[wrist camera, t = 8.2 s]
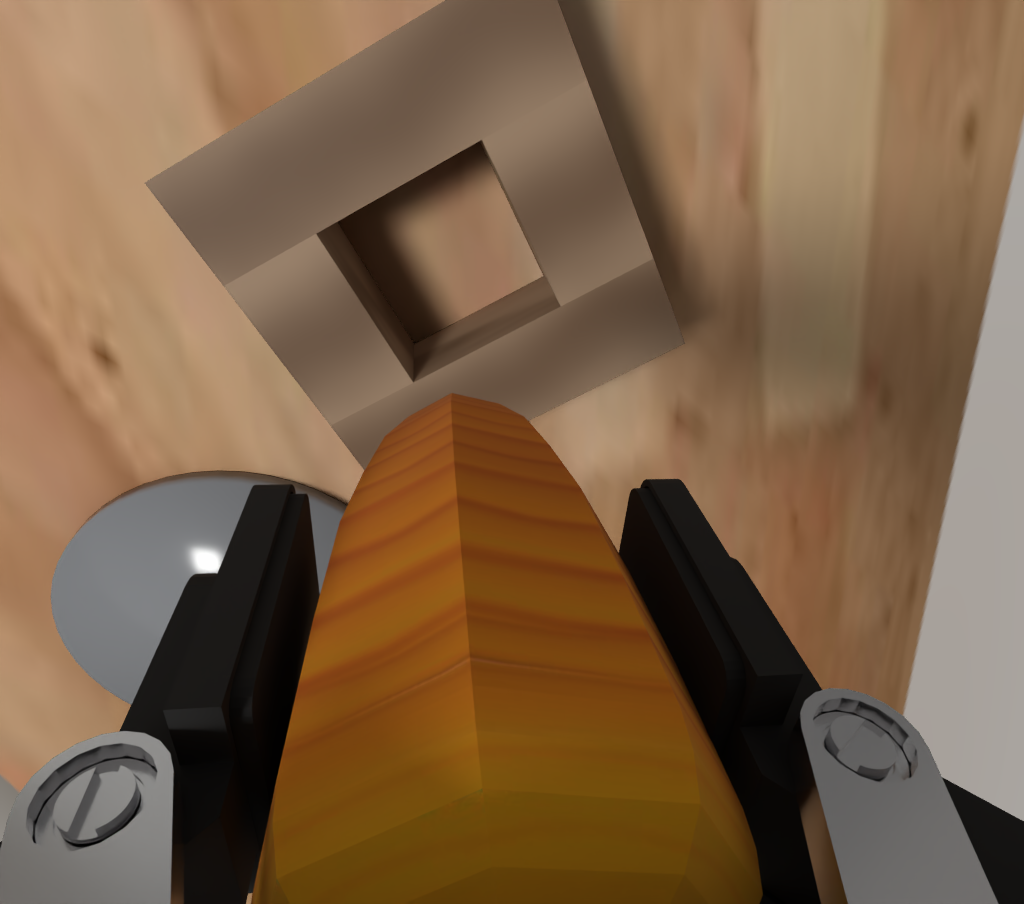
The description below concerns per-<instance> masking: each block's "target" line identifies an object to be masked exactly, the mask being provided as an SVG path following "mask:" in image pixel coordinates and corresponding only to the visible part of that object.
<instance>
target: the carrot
mask: <svg viewBox="0 0 1024 904" xmlns="http://www.w3.org/2000/svg"><path fill="white" fill-rule="evenodd" d="M762 895H763V892H762V885H761V878H760V871H759V864H758V857H757V850H756V846H755V843H754V840H753V837H752V834H751V831H750V828H749V825H748V822H747V819H746V816H745V813H744V810H743V807H742V805H741V803H740V801H739V799H738V797H737V794H736V792H735V790H734V788H733V786H732V784H731V782H730V779H729V777H728V775H727V773H726V771H725V769H724V766H723V764H722V762H721V760H720V758H719V756H718V754H717V751H716V749H715V747H714V745H713V743H712V741H711V739H710V737H709V735H708V733H707V731H706V728H705V726H704V724H703V722H702V720H701V718H700V715H699V713H698V711H697V709H696V707H695V704H694V702H693V700H692V698H691V696H690V694H689V691H688V689H687V687H686V685H685V683H684V680H683V678H682V676H681V674H680V672H679V670H678V667H677V665H676V663H675V661H674V659H673V657H672V655H671V653H670V651H669V649H668V648H667V646H666V644H665V642H664V640H663V638H662V636H661V634H660V632H659V630H658V628H657V626H656V624H655V622H654V620H653V618H652V616H651V614H650V612H649V610H648V608H647V606H646V604H645V602H644V600H643V598H642V596H641V594H640V592H639V590H638V588H637V586H636V584H635V582H634V580H633V578H632V576H631V574H630V572H629V570H628V569H627V567H626V565H625V563H624V562H623V560H622V558H621V557H620V555H619V553H618V551H617V550H616V548H615V546H614V545H613V543H612V541H611V539H610V538H609V536H608V534H607V533H606V531H605V529H604V527H603V526H602V524H601V522H600V521H599V519H598V517H597V515H596V514H595V512H594V510H593V509H592V507H591V505H590V503H589V502H588V500H587V498H586V497H585V495H584V493H583V491H582V490H581V488H580V486H579V485H578V484H577V482H576V481H575V479H574V478H573V477H572V475H571V474H570V473H569V471H568V470H567V469H566V467H565V466H564V464H563V463H562V462H561V460H560V459H559V458H558V456H557V455H556V454H555V452H554V451H553V449H552V448H551V447H550V445H549V444H548V443H547V442H546V441H545V440H544V439H543V437H542V436H541V435H540V434H539V433H538V432H537V431H536V429H535V428H534V427H533V426H532V425H531V424H530V423H529V421H528V420H527V419H526V418H525V417H524V416H522V415H520V414H518V413H516V412H514V411H512V410H511V409H509V408H507V407H505V406H503V405H501V404H499V403H494V402H490V401H485V400H481V399H476V398H472V397H467V396H463V395H459V394H454V393H451V394H449V395H447V396H445V397H443V398H441V399H440V400H438V401H436V402H434V403H432V404H430V405H429V406H427V407H425V408H423V409H421V410H419V411H418V412H416V413H414V414H412V415H410V416H409V417H407V418H406V419H405V420H404V421H403V422H401V423H400V424H399V425H398V426H397V427H395V428H394V429H393V430H392V431H391V432H389V433H388V434H387V435H386V436H385V437H384V438H383V440H382V442H381V444H380V445H379V447H378V449H377V450H376V452H375V454H374V455H373V457H372V459H371V461H370V462H369V464H368V466H367V467H366V469H365V471H364V472H363V475H362V477H361V479H360V481H359V483H358V485H357V487H356V489H355V491H354V493H353V495H352V497H351V500H350V502H349V504H348V506H347V508H346V510H345V512H344V514H343V516H342V518H341V520H340V523H339V527H338V530H337V534H336V538H335V541H334V545H333V549H332V552H331V556H330V560H329V563H328V567H327V571H326V574H325V578H324V582H323V585H322V589H321V593H320V596H319V600H318V604H317V608H316V611H315V615H314V619H313V623H312V627H311V632H310V636H309V640H308V645H307V649H306V653H305V658H304V662H303V666H302V671H301V675H300V680H299V684H298V688H297V693H296V697H295V701H294V706H293V710H292V714H291V719H290V723H289V727H288V732H287V736H286V741H285V745H284V749H283V754H282V758H281V762H280V767H279V771H278V775H277V780H276V785H275V790H274V794H273V799H272V804H271V809H270V813H269V818H268V823H267V828H266V832H265V837H264V842H263V846H262V851H261V856H260V861H259V865H258V870H257V875H256V880H255V884H254V889H253V894H252V901H251V904H759V903H760V901H761V898H762Z"/></svg>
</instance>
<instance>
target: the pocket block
mask: <svg viewBox="0 0 1024 904" xmlns="http://www.w3.org/2000/svg"><path fill="white" fill-rule="evenodd" d="M479 141H480V143H481V145H482V147H483V149H484V151H485V153H486V155H487V157H488V160H489V162H490V164H491V166H492V168H493V170H494V172H495V174H496V176H497V179H498V181H499V183H500V185H501V187H502V189H503V191H504V193H505V195H506V198H507V200H508V202H509V204H510V206H511V208H512V210H513V212H514V214H515V216H516V219H517V221H518V223H519V225H520V227H521V229H522V231H523V233H524V235H525V238H526V240H527V242H528V244H529V246H530V248H531V250H532V252H533V254H534V256H535V259H536V261H537V263H538V265H539V267H540V269H541V271H542V273H543V275H544V276H543V277H541V278H539V279H537V280H536V281H534V282H532V283H530V284H528V285H526V286H524V287H522V288H520V289H518V290H517V291H515V292H513V293H511V294H509V295H507V296H505V297H503V298H501V299H499V300H498V301H496V302H494V303H492V304H490V305H488V306H486V307H484V308H482V309H480V310H479V311H477V312H475V313H473V314H471V315H469V316H467V317H465V318H463V319H461V320H460V321H458V322H456V323H454V324H452V325H450V326H448V327H446V328H444V329H443V330H441V331H439V332H437V333H435V334H433V335H431V336H429V337H427V338H425V339H424V340H422V341H420V342H418V343H416V344H414V343H413V342H412V340H411V339H410V337H409V335H408V334H407V332H406V331H405V329H404V327H403V326H402V324H401V323H400V321H399V319H398V318H397V316H396V315H395V313H394V312H393V310H392V308H391V307H390V305H389V304H388V302H387V300H386V299H385V297H384V296H383V294H382V292H381V291H380V289H379V288H378V286H377V284H376V283H375V281H374V280H373V278H372V276H371V275H370V273H369V272H368V270H367V269H366V267H365V265H364V264H363V262H362V261H361V259H360V257H359V256H358V254H357V253H356V251H355V249H354V248H353V246H352V245H351V243H350V241H349V240H348V238H347V237H346V235H345V233H344V232H343V230H342V229H341V227H340V226H339V224H338V221H339V220H341V219H343V218H345V217H346V216H348V215H350V214H352V213H353V212H355V211H357V210H359V209H360V208H362V207H364V206H366V205H368V204H369V203H371V202H373V201H375V200H376V199H378V198H380V197H382V196H383V195H385V194H387V193H389V192H390V191H392V190H394V189H396V188H397V187H399V186H401V185H403V184H405V183H406V182H408V181H410V180H412V179H413V178H415V177H417V176H419V175H420V174H422V173H424V172H426V171H427V170H429V169H431V168H433V167H435V166H436V165H438V164H440V163H442V162H443V161H445V160H447V159H449V158H450V157H452V156H454V155H456V154H457V153H459V152H461V151H463V150H464V149H466V148H468V147H470V146H472V145H473V144H475V143H477V142H479ZM145 184H146V185H147V187H148V188H149V189H150V191H151V192H152V193H153V195H154V196H155V197H156V198H157V200H158V201H159V202H160V204H161V205H162V206H163V208H164V209H165V210H166V212H167V213H168V214H169V215H170V217H171V218H172V219H173V221H174V222H175V223H176V225H177V226H178V227H179V229H180V230H181V231H182V232H183V234H184V235H185V236H186V238H187V239H188V240H189V242H190V243H191V244H192V245H193V247H194V248H195V249H196V251H197V252H198V253H199V255H200V256H201V257H202V259H203V260H204V261H205V262H206V264H207V265H208V266H209V268H210V269H211V270H212V272H213V273H214V274H215V276H216V277H217V278H218V279H219V281H220V282H221V283H222V285H223V286H224V287H225V289H226V290H227V291H228V293H229V294H230V295H231V296H232V298H233V299H234V300H235V302H236V303H237V304H238V306H239V307H240V308H241V309H242V311H243V312H244V313H245V315H246V316H247V317H248V319H249V320H250V321H251V323H252V324H253V325H254V326H255V328H256V329H257V330H258V332H259V333H260V334H261V336H262V337H263V338H264V340H265V341H266V342H267V343H268V345H269V346H270V347H271V349H272V350H273V351H274V353H275V354H276V355H277V357H278V358H279V359H280V360H281V362H282V363H283V364H284V366H285V367H286V368H287V370H288V371H289V372H290V373H291V375H292V376H293V377H294V379H295V380H296V381H297V383H298V384H299V385H300V387H301V388H302V389H303V390H304V392H305V393H306V394H307V396H308V397H309V398H310V400H311V401H312V402H313V404H314V405H315V406H316V407H317V409H318V410H319V411H320V413H321V414H322V415H323V417H324V418H325V419H326V420H327V422H328V423H329V424H330V426H331V427H332V428H333V430H334V431H335V432H336V434H337V435H338V436H339V437H340V439H341V440H342V441H343V443H344V444H345V445H346V447H347V448H348V449H349V451H350V452H351V453H352V454H353V456H354V457H355V458H356V460H357V461H358V462H359V464H360V465H361V466H362V468H363V469H364V470H365V469H366V467H367V466H368V464H369V462H370V461H371V459H372V457H373V455H374V454H375V452H376V450H377V449H378V447H379V445H380V444H381V442H382V440H383V438H384V437H385V436H386V435H387V434H388V433H389V432H391V431H392V430H393V429H394V428H395V427H397V426H398V425H399V424H400V423H401V422H403V421H404V420H405V419H406V418H407V417H409V416H410V415H412V414H414V413H416V412H418V411H419V410H421V409H423V408H425V407H427V406H429V405H430V404H432V403H434V402H436V401H438V400H440V399H441V398H443V397H445V396H447V395H449V394H451V393H454V394H459V395H463V396H467V397H472V398H476V399H481V400H485V401H490V402H494V403H499V404H501V405H503V406H505V407H507V408H509V409H511V410H512V411H514V412H516V413H518V414H520V415H522V416H524V417H525V418H526V419H527V420H528V421H529V420H531V419H533V418H535V417H537V416H539V415H541V414H543V413H545V412H547V411H549V410H551V409H553V408H555V407H557V406H559V405H561V404H563V403H565V402H567V401H569V400H571V399H573V398H576V397H578V396H580V395H582V394H584V393H586V392H588V391H590V390H592V389H594V388H596V387H598V386H600V385H602V384H604V383H606V382H608V381H610V380H612V379H614V378H616V377H618V376H620V375H622V374H624V373H626V372H628V371H630V370H632V369H634V368H636V367H638V366H640V365H642V364H644V363H646V362H648V361H650V360H652V359H654V358H656V357H659V356H661V355H663V354H665V353H667V352H669V351H671V350H673V349H675V348H677V347H679V346H681V345H683V344H685V342H684V339H683V336H682V334H681V331H680V328H679V326H678V323H677V320H676V318H675V315H674V312H673V310H672V307H671V304H670V301H669V299H668V296H667V293H666V291H665V288H664V285H663V283H662V280H661V277H660V275H659V272H658V269H657V267H656V264H655V261H654V258H653V256H652V253H651V250H650V248H649V245H648V242H647V240H646V237H645V234H644V232H643V229H642V226H641V223H640V221H639V218H638V215H637V213H636V210H635V207H634V205H633V202H632V199H631V197H630V194H629V191H628V189H627V186H626V183H625V180H624V178H623V175H622V172H621V170H620V167H619V164H618V162H617V159H616V156H615V154H614V151H613V148H612V145H611V143H610V140H609V137H608V135H607V132H606V129H605V127H604V124H603V121H602V119H601V116H600V113H599V110H598V108H597V105H596V102H595V100H594V97H593V94H592V92H591V89H590V86H589V84H588V81H587V78H586V76H585V73H584V70H583V67H582V65H581V62H580V59H579V57H578V54H577V51H576V49H575V46H574V43H573V41H572V38H571V35H570V32H569V30H568V27H567V24H566V22H565V19H564V16H563V14H562V11H561V8H560V6H559V3H558V0H445V1H444V2H442V3H440V4H439V5H437V6H435V7H434V8H432V9H430V10H429V11H427V12H425V13H424V14H422V15H420V16H419V17H417V18H415V19H414V20H412V21H411V22H409V23H407V24H406V25H404V26H402V27H401V28H399V29H397V30H396V31H394V32H392V33H391V34H389V35H387V36H386V37H384V38H382V39H381V40H379V41H378V42H376V43H374V44H373V45H371V46H369V47H368V48H366V49H364V50H363V51H361V52H359V53H358V54H356V55H354V56H353V57H351V58H349V59H348V60H346V61H345V62H343V63H341V64H340V65H338V66H336V67H335V68H333V69H331V70H330V71H328V72H326V73H325V74H323V75H321V76H320V77H318V78H316V79H315V80H313V81H312V82H310V83H308V84H307V85H305V86H303V87H302V88H300V89H298V90H297V91H295V92H293V93H292V94H290V95H288V96H287V97H285V98H283V99H282V100H280V101H279V102H277V103H275V104H274V105H272V106H270V107H269V108H267V109H265V110H264V111H262V112H260V113H259V114H257V115H255V116H254V117H252V118H250V119H249V120H247V121H246V122H244V123H242V124H241V125H239V126H237V127H236V128H234V129H232V130H231V131H229V132H227V133H226V134H224V135H222V136H221V137H219V138H218V139H216V140H214V141H213V142H211V143H209V144H208V145H206V146H204V147H203V148H201V149H199V150H198V151H196V152H194V153H193V154H191V155H189V156H188V157H186V158H185V159H183V160H181V161H180V162H178V163H176V164H175V165H173V166H171V167H170V168H168V169H166V170H165V171H163V172H161V173H160V174H158V175H156V176H155V177H153V178H152V179H150V180H148V181H147V182H145Z"/></svg>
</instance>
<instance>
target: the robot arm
mask: <svg viewBox="0 0 1024 904" xmlns="http://www.w3.org/2000/svg"><path fill="white" fill-rule="evenodd" d="M619 555H620V557H621V558H622V560H623V562H624V563H625V565H626V567H627V569H628V570H629V572H630V574H631V576H632V578H633V580H634V582H635V584H636V586H637V588H638V590H639V592H640V594H641V596H642V598H643V600H644V602H645V604H646V606H647V608H648V610H649V612H650V614H651V616H652V618H653V620H654V622H655V624H656V626H657V628H658V630H659V632H660V634H661V636H662V638H663V640H664V642H665V644H666V646H667V648H668V649H669V651H670V653H671V655H672V657H673V659H674V661H675V663H676V665H677V667H678V670H679V672H680V674H681V676H682V678H683V680H684V683H685V685H686V687H687V689H688V691H689V694H690V696H691V698H692V700H693V702H694V704H695V707H696V709H697V711H698V713H699V715H700V718H701V720H702V722H703V724H704V726H705V728H706V731H707V733H708V735H709V737H710V739H711V741H712V743H713V745H714V747H715V749H716V751H717V754H718V756H719V758H720V760H721V762H722V764H723V766H724V769H725V771H726V773H727V775H728V777H729V779H730V782H731V784H732V786H733V788H734V790H735V792H736V794H737V797H738V799H739V801H740V803H741V805H742V807H743V810H744V813H745V816H746V819H747V822H748V825H749V828H750V831H751V834H752V837H753V840H754V843H755V846H756V850H757V857H758V864H759V871H760V878H761V885H762V892H763V895H762V898H761V901H760V903H759V904H1024V821H1022V820H1020V819H1018V818H1016V817H1015V816H1012V815H1011V814H1009V813H1007V812H1005V811H1003V810H1002V809H1000V808H998V807H996V806H994V805H992V804H990V803H989V802H987V801H985V800H983V799H981V798H979V797H977V796H976V795H973V794H972V793H970V792H968V791H966V790H965V789H963V788H961V787H959V786H957V785H955V784H953V783H951V782H950V781H948V780H946V779H944V778H942V777H941V774H940V772H939V770H938V768H937V766H936V763H935V761H934V759H933V757H932V754H931V752H930V750H929V748H928V746H927V745H926V743H925V742H924V740H923V738H922V737H921V735H920V733H919V732H918V731H917V730H916V729H915V728H914V727H913V726H912V725H911V724H910V723H909V722H908V721H907V720H906V719H905V717H904V716H902V715H901V714H899V713H898V712H897V711H895V710H894V709H892V708H891V707H890V706H888V705H887V704H885V703H883V702H881V701H879V700H877V699H875V698H873V697H871V696H869V695H867V694H863V693H860V692H856V691H852V690H849V689H834V688H829V689H825V690H822V689H821V687H820V686H819V684H818V683H817V681H816V680H815V678H814V677H813V675H812V673H811V672H810V670H809V669H808V667H807V666H806V664H805V663H804V661H803V659H802V658H801V656H800V655H799V653H798V652H797V650H796V649H795V647H794V645H793V644H792V642H791V641H790V639H789V638H788V636H787V635H786V633H785V631H784V630H783V628H782V627H781V625H780V624H779V622H778V621H777V619H776V617H775V616H774V614H773V613H772V611H771V610H770V608H769V607H768V605H767V603H766V602H765V600H764V599H763V597H762V596H761V594H760V593H759V591H758V589H757V588H756V586H755V585H754V583H753V582H752V580H751V579H750V577H749V575H748V574H747V572H746V571H745V569H744V568H743V566H742V565H741V564H740V563H739V562H738V561H737V560H736V559H734V558H732V557H730V556H729V555H728V553H727V551H726V550H725V548H724V547H723V545H722V544H721V542H720V540H719V539H718V537H717V536H716V534H715V532H714V531H713V529H712V528H711V526H710V524H709V523H708V521H707V520H706V518H705V517H704V515H703V513H702V512H701V510H700V509H699V507H698V505H697V504H696V502H695V501H694V499H693V497H692V496H691V494H690V493H689V491H688V490H687V488H686V486H685V485H684V483H683V482H682V481H681V480H679V479H646V480H644V481H643V483H642V485H641V488H634V489H632V490H631V492H630V496H629V501H628V506H627V512H626V517H625V523H624V528H623V533H622V539H621V544H620V550H619ZM319 596H320V592H319V583H318V574H317V565H316V556H315V548H314V539H313V530H312V521H311V512H310V503H309V497H308V495H307V493H306V494H296V491H295V488H294V486H293V485H292V484H271V485H254V486H253V487H252V489H251V491H250V493H249V496H248V498H247V501H246V503H245V506H244V508H243V511H242V513H241V516H240V518H239V521H238V523H237V526H236V528H235V531H234V533H233V536H232V538H231V541H230V543H229V546H228V548H227V551H226V553H225V556H224V558H223V561H222V563H221V566H220V568H219V571H218V573H201V574H194V575H193V576H191V577H190V579H189V580H188V582H187V584H186V585H185V588H184V590H183V592H182V594H181V596H180V599H179V601H178V603H177V605H176V608H175V610H174V612H173V614H172V616H171V619H170V621H169V623H168V625H167V627H166V630H165V632H164V634H163V636H162V638H161V641H160V643H159V645H158V647H157V650H156V652H155V654H154V656H153V658H152V661H151V663H150V665H149V667H148V669H147V672H146V674H145V676H144V678H143V681H142V683H141V685H140V687H139V689H138V692H137V694H136V696H135V698H134V700H133V703H132V705H131V707H130V709H129V712H128V714H127V716H126V718H125V720H124V723H123V725H122V727H121V729H120V731H119V732H114V733H108V734H101V735H99V736H96V737H93V738H91V739H88V740H85V741H82V742H80V743H77V744H76V745H74V746H72V747H70V748H69V749H67V750H65V751H64V752H62V753H60V754H59V755H57V756H55V757H54V758H53V759H51V760H50V761H49V762H48V763H47V764H46V765H44V766H43V767H42V768H41V769H40V770H39V771H38V772H36V773H35V774H34V775H33V776H32V777H31V779H30V780H29V781H28V783H27V784H26V785H25V787H24V788H23V789H22V790H21V792H20V793H19V794H18V796H17V797H16V800H15V802H14V804H13V807H12V809H11V812H10V814H9V816H8V819H7V823H6V828H5V832H4V836H3V840H2V841H1V842H0V904H246V900H247V895H248V893H253V889H254V884H255V880H256V875H257V870H258V865H259V861H260V856H261V851H262V846H263V842H264V837H265V832H266V828H267V823H268V818H269V813H270V809H271V804H272V799H273V794H274V790H275V785H276V780H277V775H278V771H279V767H280V762H281V758H282V754H283V749H284V745H285V741H286V736H287V732H288V727H289V723H290V719H291V714H292V710H293V706H294V701H295V697H296V693H297V688H298V684H299V680H300V675H301V671H302V666H303V662H304V658H305V653H306V649H307V645H308V640H309V636H310V632H311V627H312V623H313V619H314V615H315V611H316V608H317V604H318V600H319Z"/></svg>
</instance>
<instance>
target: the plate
mask: <svg viewBox="0 0 1024 904" xmlns="http://www.w3.org/2000/svg"><path fill="white" fill-rule="evenodd" d="M271 484H292V485H293V486H294V488H295V491H296V494H306V493H307V495H308V497H309V503H310V512H311V521H312V530H313V539H314V548H315V556H316V565H317V574H318V583H319V592H320V593H321V589H322V585H323V582H324V578H325V574H326V571H327V567H328V563H329V560H330V556H331V552H332V549H333V545H334V541H335V538H336V534H337V530H338V527H339V523H340V520H341V518H342V516H343V514H344V512H345V510H346V508H347V506H346V505H345V504H343V503H342V502H340V501H338V500H336V499H334V498H332V497H330V496H328V495H326V494H324V493H322V492H320V491H318V490H315V489H313V488H310V487H307V486H304V485H302V484H299V483H296V482H293V481H289V480H285V479H281V478H277V477H273V476H268V475H262V474H255V473H248V472H233V471H208V472H192V473H187V474H181V475H175V476H169V477H165V478H162V479H159V480H155V481H152V482H148V483H145V484H142V485H140V486H138V487H136V488H133V489H131V490H129V491H127V492H124V493H122V494H121V495H119V496H118V497H116V498H114V499H113V500H111V501H109V502H108V503H106V504H105V505H103V506H102V507H101V508H100V509H99V510H98V511H96V512H95V513H94V514H93V515H92V516H91V517H89V518H88V519H87V521H86V522H85V523H84V524H83V526H82V527H81V528H80V529H79V530H78V532H77V533H76V534H75V536H74V537H73V538H72V540H71V541H70V542H69V544H68V545H67V547H66V548H65V550H64V552H63V554H62V556H61V558H60V559H59V561H58V563H57V567H56V570H55V573H54V576H53V580H52V590H51V604H52V613H53V617H54V620H55V624H56V627H57V630H58V633H59V634H60V636H61V638H62V640H63V642H64V644H65V646H66V648H67V649H68V651H69V652H70V654H71V655H72V656H73V658H74V659H75V661H76V662H77V663H78V664H79V665H80V666H81V667H82V668H83V669H84V670H85V671H86V673H87V674H88V675H89V676H90V677H92V678H93V679H94V680H95V681H96V682H98V683H99V684H100V685H101V686H102V687H104V688H105V689H106V690H108V691H109V692H111V693H112V694H114V695H116V696H117V697H119V698H120V699H122V700H123V701H125V702H127V703H129V704H131V705H132V703H133V700H134V698H135V696H136V694H137V692H138V689H139V687H140V685H141V683H142V681H143V678H144V676H145V674H146V672H147V669H148V667H149V665H150V663H151V661H152V658H153V656H154V654H155V652H156V650H157V647H158V645H159V643H160V641H161V638H162V636H163V634H164V632H165V630H166V627H167V625H168V623H169V621H170V619H171V616H172V614H173V612H174V610H175V608H176V605H177V603H178V601H179V599H180V596H181V594H182V592H183V590H184V588H185V585H186V584H187V582H188V580H189V579H190V577H191V576H193V575H194V574H201V573H218V571H219V568H220V566H221V563H222V561H223V558H224V556H225V553H226V551H227V548H228V546H229V543H230V541H231V538H232V536H233V533H234V531H235V528H236V526H237V523H238V521H239V518H240V516H241V513H242V511H243V508H244V506H245V503H246V501H247V498H248V496H249V493H250V491H251V489H252V487H253V486H254V485H271Z"/></svg>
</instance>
